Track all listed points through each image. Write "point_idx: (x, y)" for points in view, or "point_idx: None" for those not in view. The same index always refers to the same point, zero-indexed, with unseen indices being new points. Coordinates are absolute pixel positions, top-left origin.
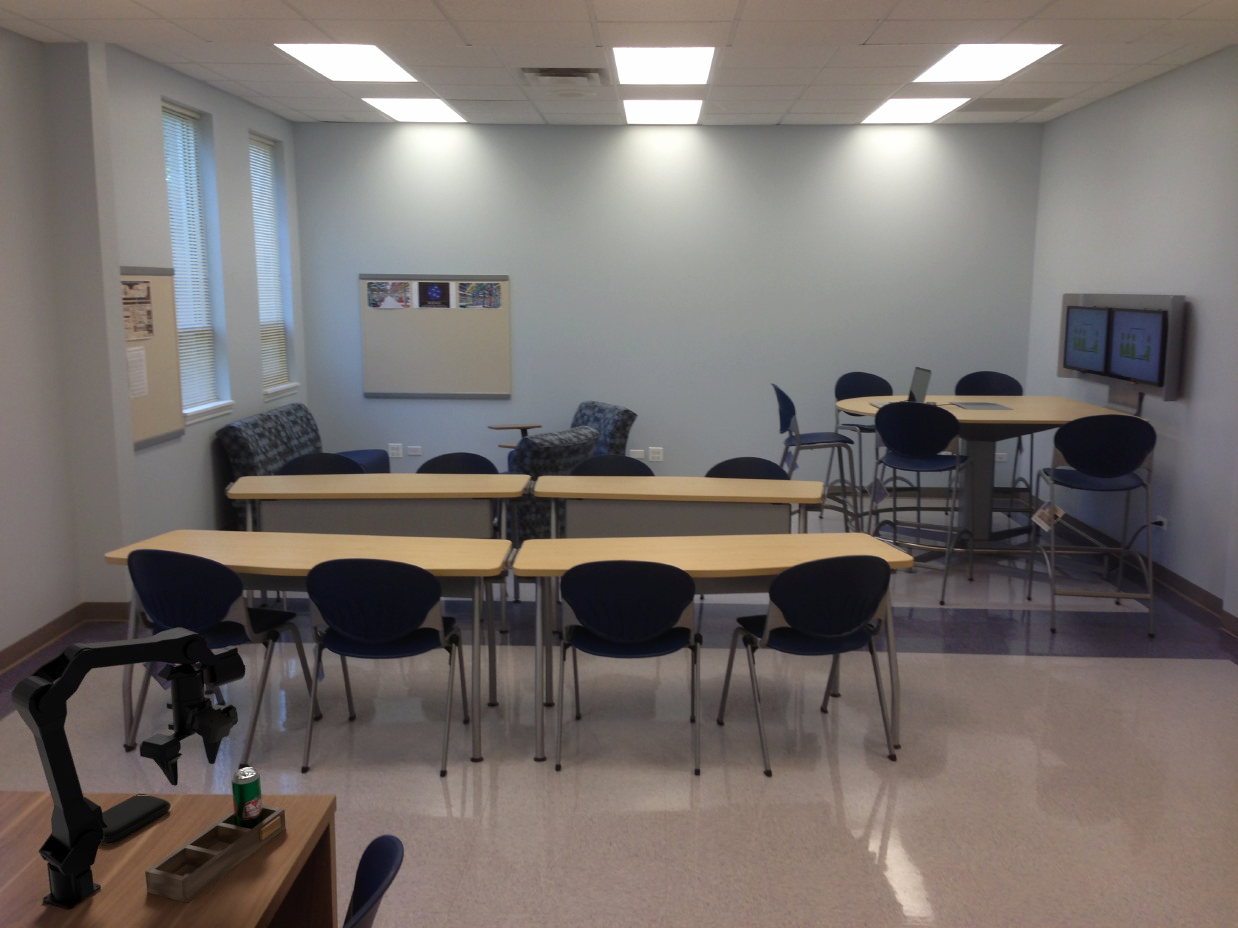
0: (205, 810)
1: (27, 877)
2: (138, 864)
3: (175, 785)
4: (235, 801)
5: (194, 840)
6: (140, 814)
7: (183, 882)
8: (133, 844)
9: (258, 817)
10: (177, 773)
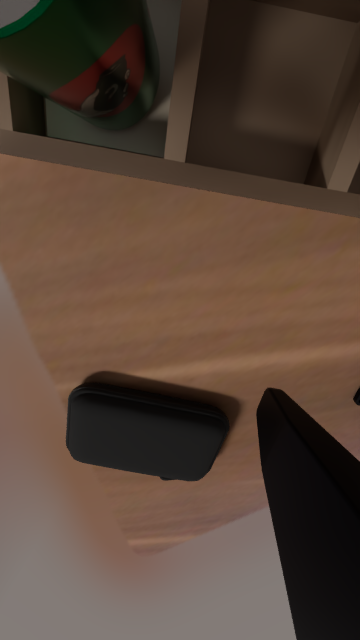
0: (48, 312)
1: None
2: (293, 322)
3: (281, 390)
4: (133, 21)
5: (296, 187)
6: (147, 418)
7: None
8: (216, 375)
9: None
10: (318, 453)
